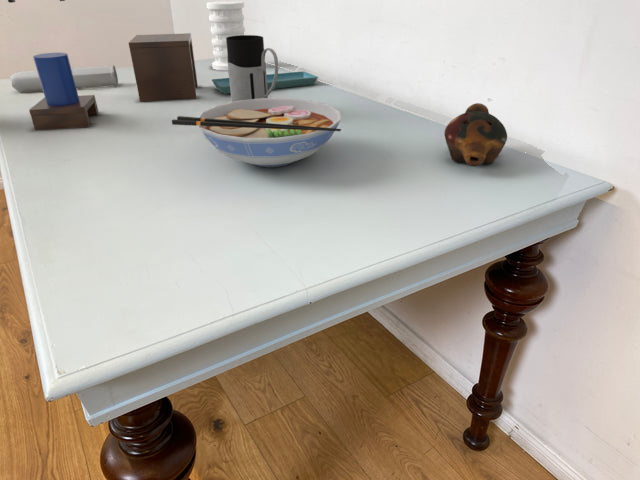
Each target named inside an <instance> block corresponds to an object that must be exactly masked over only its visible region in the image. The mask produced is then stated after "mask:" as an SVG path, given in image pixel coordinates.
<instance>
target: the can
mask: <svg viewBox="0 0 640 480" xmlns="http://www.w3.org/2000/svg"><path fill="white" fill-rule="evenodd" d="M32 58H33V61H34V64H35V68H36V71H37V72H38V75H39V78H40V82H41V85H42V89H43V91H42V92H43V95H44V98H45V99H46V102H47V104H48V105H51V106H62V105H69V104H74V103H77V102H78V101H79V97H78V96H79V93H78V88H76V85H75V81H74V77H73V74H72V70H71V68H72V66H71V62H70V58H69V55H68V53H66V52H45V53H44V52H43V53H38V54H35V55H33V57H32Z"/></svg>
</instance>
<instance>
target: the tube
mask: <svg viewBox="0 0 640 480" xmlns="http://www.w3.org/2000/svg"><path fill="white" fill-rule="evenodd" d="M71 70H72V74H73V77H74V81H75V85H76V89H88V88H103V87H118V86H119V77H118V73H117V69H116V66H115V64H111V65H104V66H88V67H73V68H72V67H71ZM10 82H11V87H12V88H13V89H14V90H15V91H17V92H19V93H34V92H43V89H42V85H41V82H40V78H39V75H38V72H37V70H28V71H27V70H25V71H17V72H16V73H13V74H12V75H10Z"/></svg>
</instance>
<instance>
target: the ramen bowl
mask: <svg viewBox="0 0 640 480" xmlns="http://www.w3.org/2000/svg"><path fill="white" fill-rule="evenodd" d="M341 117H342V116H341V111H340V110H338V109H337V108H336V107H334V106H332V105H330V104H327V103H324V102H320V101H316V100H311V99H302V98H301V99H300V98H291V97H268V98H260V99H250V100H240V101H235V102H231V101H230V102H226V103H222V104H217V105H215V106H213V107H210V108H207V109H206V110H203V111H201V112H200V114H199V115H198V116H197V117H196V116H195V117H194V116H184V115H182V116H181V115H179V116H177V117H176V119H172V120H171V125H172V126H194V127H195V126H196V127H197V126H198V127H199V129H200V131H201V132H202V134H203V136H205V138H206V140H208V142H210V144H211V145H212V147H214V148H215V149H216V150H217V151H218V152H219V153H221V154H222V155H224V156H226V157H229V158H230V159H234V160H235V161H238V162H240V163H245V164H249V165H250V164H251V165H254V166H256V167H260V168H280V167H284V166H286V165H290V164H291V163H294V162H297V161H300V160H302V159H306V158H308V157H310V156H312V155H313V154H315V153H316V152H317V151H318V150H320V149H321V148H322V147H324V146H325V145H326V143H328V141H329V140H330V139H331V138H332V137H333V135H334V133H335V132H341V131H342V128H338V127H339V125H340V122H341V120H342V118H341Z"/></svg>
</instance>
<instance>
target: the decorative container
mask: <svg viewBox="0 0 640 480" xmlns="http://www.w3.org/2000/svg"><path fill="white" fill-rule="evenodd" d="M205 5H206V9H207V10H209V16H208V20H209V22H210V33H211V44H212V46H213V50H212V54H213V56H214V61H213V62H212V63H211V65H212V69H213V70H216V71H222V72H223V71H225V72H226V71H227V72H229V71H228V61H227V56H228V52H227V42H226V38H227V37H231V36H239V35H245V30H246V28H245V25H244V19H245V16H244V14H243V8H245V2H244V1H239V0H223V1H221V0H220V1H219V0H218V1H209V2H205Z"/></svg>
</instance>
